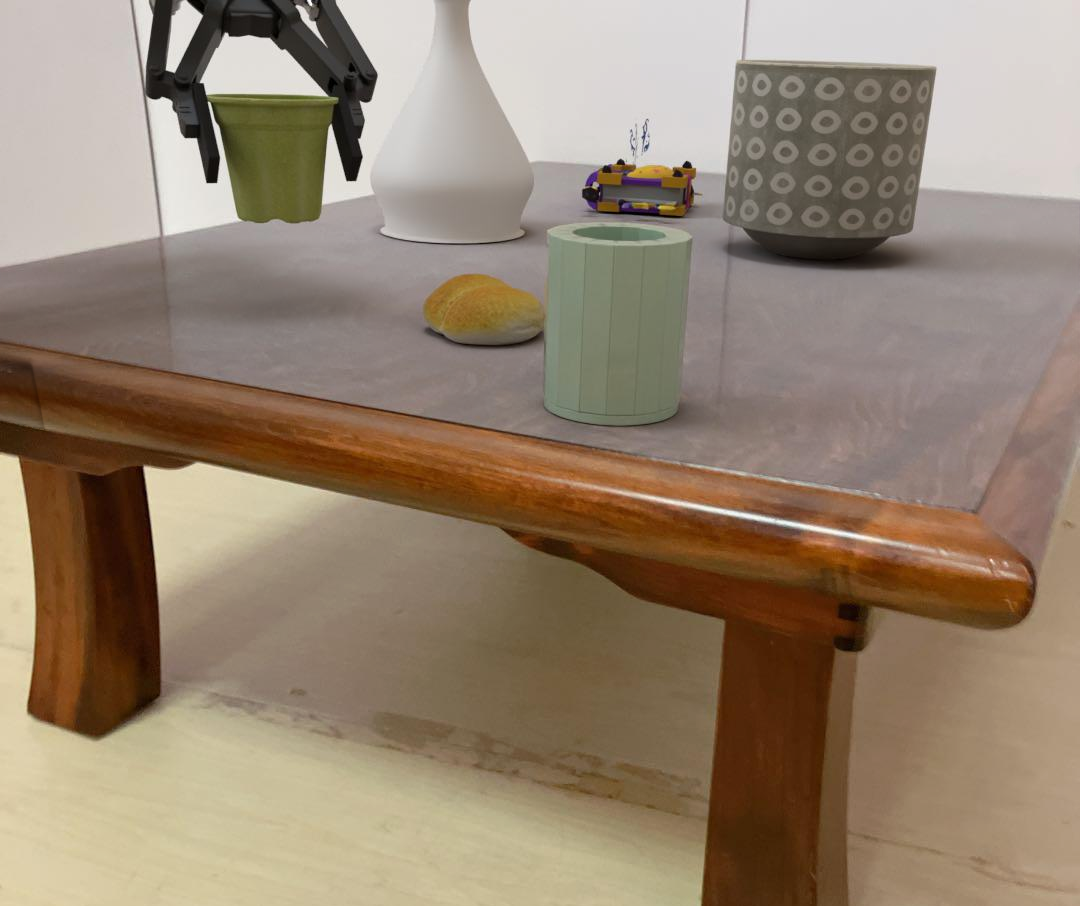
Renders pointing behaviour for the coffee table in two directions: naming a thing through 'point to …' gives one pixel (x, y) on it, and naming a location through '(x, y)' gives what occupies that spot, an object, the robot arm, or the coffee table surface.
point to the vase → (452, 150)
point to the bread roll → (483, 311)
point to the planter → (826, 154)
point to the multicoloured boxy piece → (641, 187)
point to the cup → (615, 321)
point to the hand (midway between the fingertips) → (285, 169)
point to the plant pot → (275, 153)
